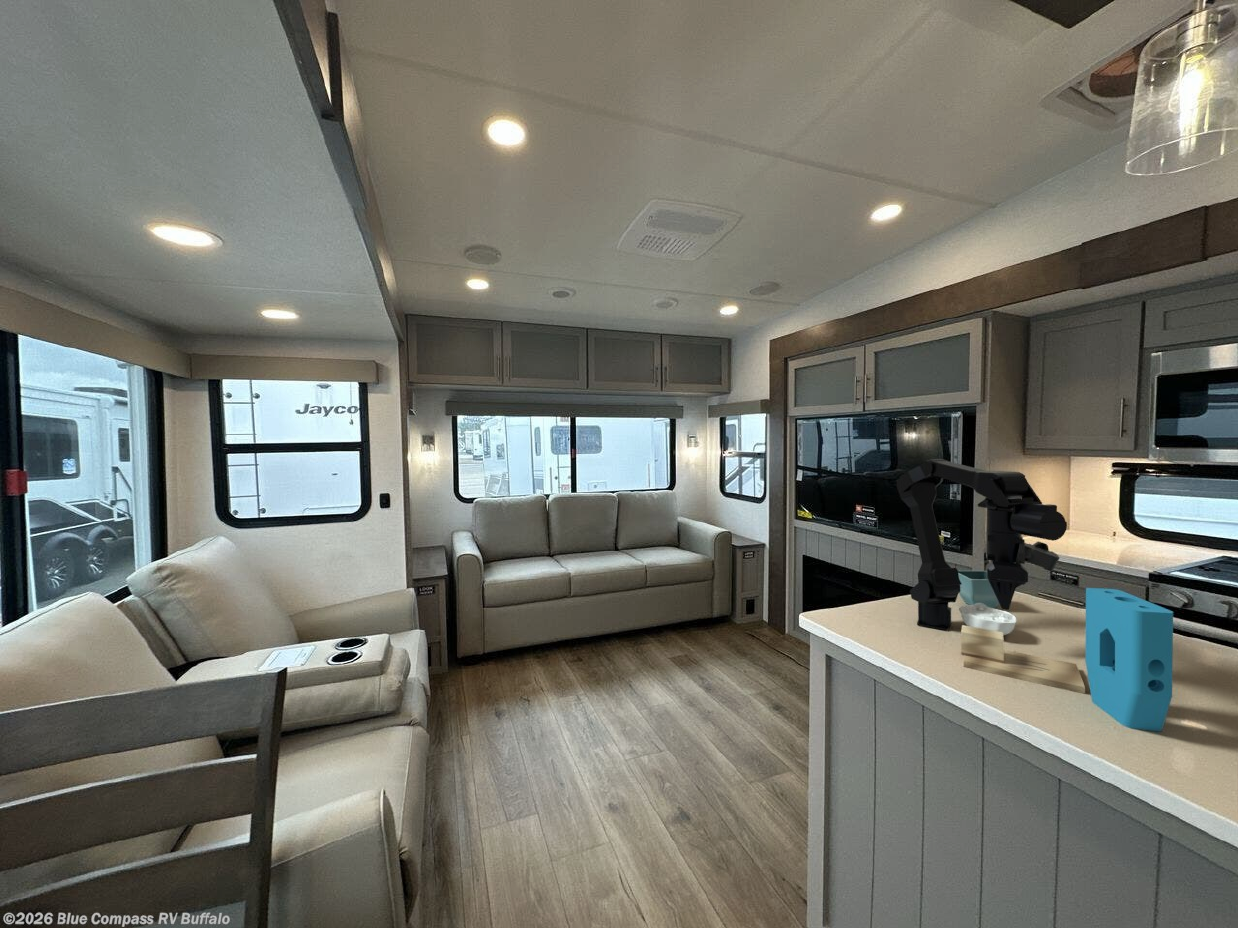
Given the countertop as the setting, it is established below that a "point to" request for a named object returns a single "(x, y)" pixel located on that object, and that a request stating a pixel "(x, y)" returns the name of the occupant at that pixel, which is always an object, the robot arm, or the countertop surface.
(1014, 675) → the board
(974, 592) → the flower pot
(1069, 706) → the countertop surface
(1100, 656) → the block
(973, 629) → the block
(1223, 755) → the countertop surface
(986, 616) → the cell model
